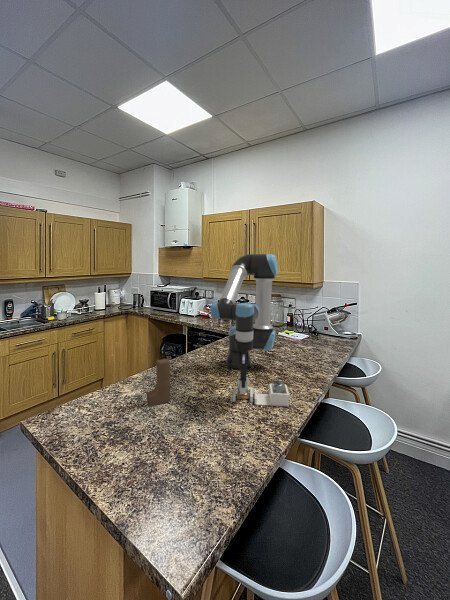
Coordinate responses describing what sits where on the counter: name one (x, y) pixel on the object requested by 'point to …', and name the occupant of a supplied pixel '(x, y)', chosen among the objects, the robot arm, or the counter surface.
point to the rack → (272, 397)
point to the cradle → (250, 394)
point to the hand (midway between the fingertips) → (243, 391)
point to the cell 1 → (239, 386)
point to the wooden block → (161, 384)
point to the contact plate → (243, 396)
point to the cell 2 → (279, 387)
